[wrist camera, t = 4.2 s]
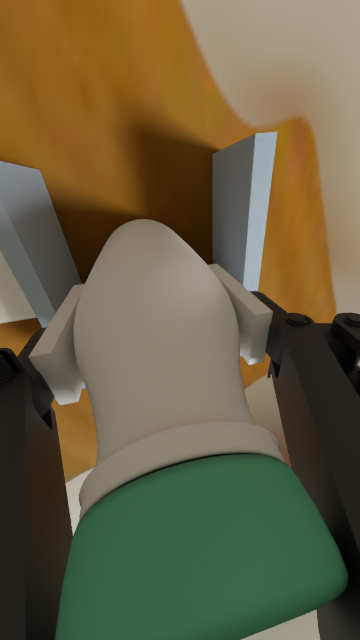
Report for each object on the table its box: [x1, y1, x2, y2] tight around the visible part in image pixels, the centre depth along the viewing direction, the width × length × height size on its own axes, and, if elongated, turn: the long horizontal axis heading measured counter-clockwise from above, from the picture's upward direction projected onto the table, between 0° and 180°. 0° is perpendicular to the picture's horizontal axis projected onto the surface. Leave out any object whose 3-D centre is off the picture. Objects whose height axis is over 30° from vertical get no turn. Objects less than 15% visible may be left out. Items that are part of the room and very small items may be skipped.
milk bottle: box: [54, 219, 349, 640], centre depth 11 cm, size 8×8×20 cm
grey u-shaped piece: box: [0, 132, 277, 389], centre depth 17 cm, size 15×15×7 cm
